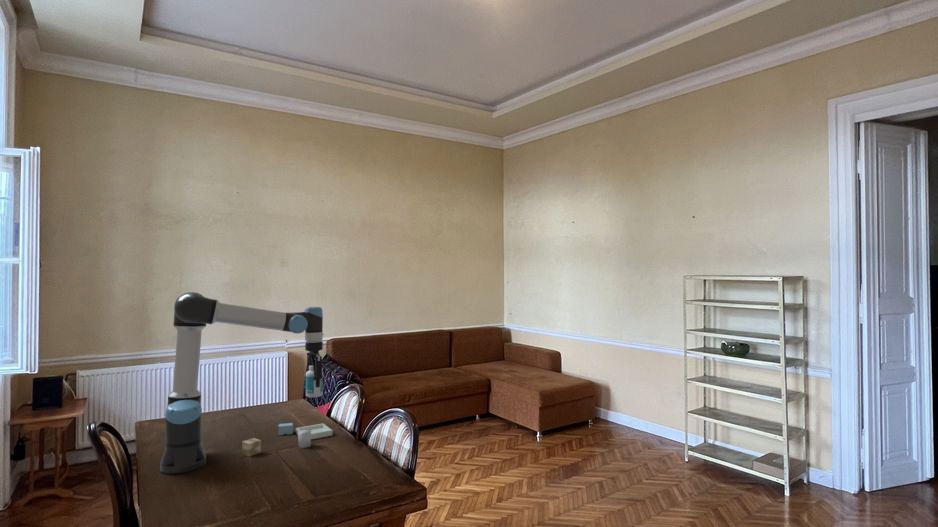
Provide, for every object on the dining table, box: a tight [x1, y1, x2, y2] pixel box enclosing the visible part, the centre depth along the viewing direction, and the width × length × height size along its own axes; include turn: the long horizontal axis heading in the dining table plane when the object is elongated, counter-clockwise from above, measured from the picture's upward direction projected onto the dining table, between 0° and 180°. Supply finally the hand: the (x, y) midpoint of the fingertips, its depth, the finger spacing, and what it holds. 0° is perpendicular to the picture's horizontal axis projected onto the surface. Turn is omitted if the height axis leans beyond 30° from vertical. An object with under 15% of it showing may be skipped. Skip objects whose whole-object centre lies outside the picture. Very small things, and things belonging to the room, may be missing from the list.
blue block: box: [277, 422, 294, 436], centre depth 229 cm, size 6×4×4 cm, turn 107°
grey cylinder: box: [297, 430, 312, 449], centre depth 212 cm, size 5×5×6 cm
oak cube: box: [241, 437, 262, 457], centre depth 204 cm, size 5×5×5 cm
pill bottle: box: [305, 365, 324, 398], centre depth 228 cm, size 8×7×14 cm
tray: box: [295, 422, 334, 440], centre depth 228 cm, size 13×13×2 cm
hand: (314, 392), depth 228 cm, fingers closed on pill bottle, 7 cm apart
